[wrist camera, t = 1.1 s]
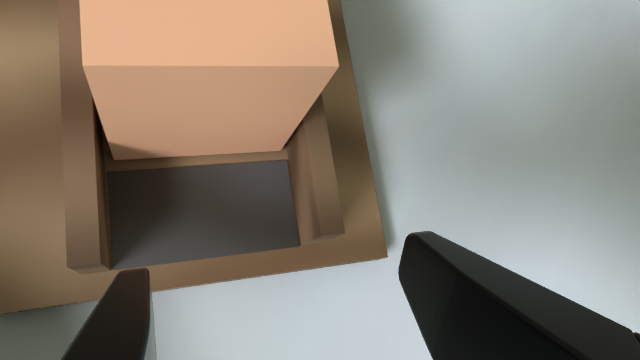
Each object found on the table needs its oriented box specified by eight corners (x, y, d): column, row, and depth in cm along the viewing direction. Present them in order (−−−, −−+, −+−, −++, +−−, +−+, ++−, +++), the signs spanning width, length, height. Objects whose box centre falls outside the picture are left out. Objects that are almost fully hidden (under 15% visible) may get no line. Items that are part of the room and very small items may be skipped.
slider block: (280, 150, 22) (339, 66, 14) (114, 160, 19) (82, 65, 12) (258, -3, 23) (300, -149, 16) (103, -11, 21) (70, -184, 14)
